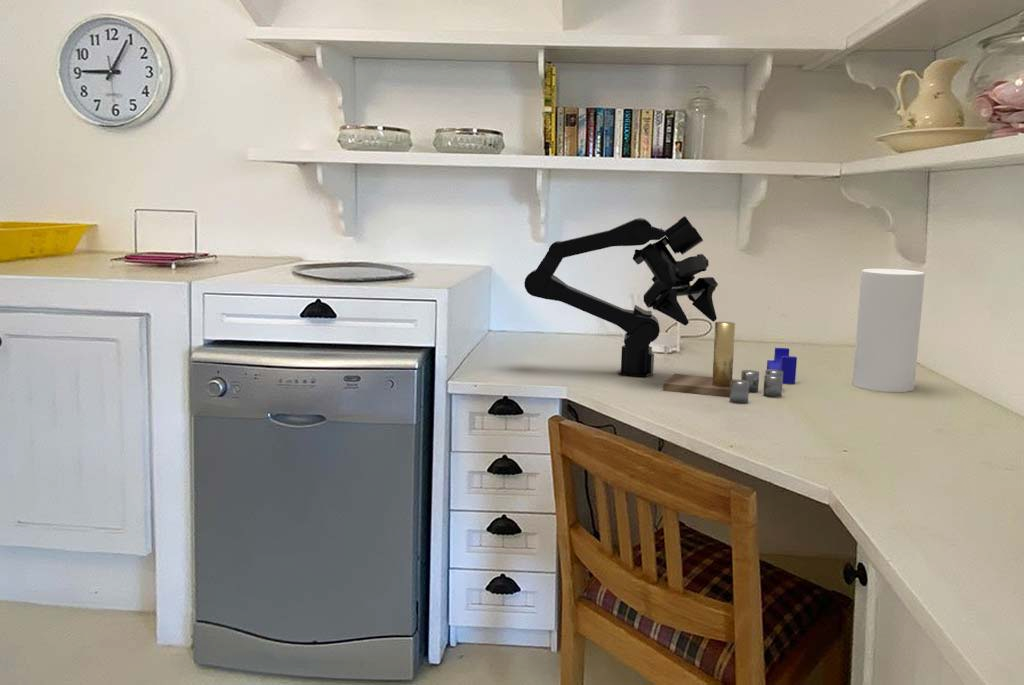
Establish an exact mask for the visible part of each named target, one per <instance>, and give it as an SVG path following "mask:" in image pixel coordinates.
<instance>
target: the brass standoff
mask: <svg viewBox="0 0 1024 685" xmlns="http://www.w3.org/2000/svg"><path fill="white" fill-rule="evenodd" d="M735 331H736V323H735V322H732V321H714V334H713V335H714V339H713V340H714V342H713V360H712V377H713V378H712V385H714V386H719V387H729V386H731V380H732V379H733V372H734V370H733V369H734V355H735V354H734V353H735V333H736V332H735Z"/></svg>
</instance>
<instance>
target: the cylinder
mask: <svg viewBox="0 0 1024 685" xmlns="http://www.w3.org/2000/svg"><path fill="white" fill-rule="evenodd" d="M925 276H926V275H925V272H923V271H918V270H913V269H912V270H911V269H910V270H909V269H901V268H900V269H899V268H898V269H894V268H865V269H862V270H861V276H860V285H859V287H860V288H859V300H858V301H859V302H858V310H857V311H858V313H857V323H856V324H857V325H856V336H855V346H854V347H855V350H854V359H853V360H854V362H853V372H852V385H853V386H855V387H857V388H859V389H863V390H868V391H873V392H874V391H875V392H881V393H882V392H883V393H907V392H908V391H909V392H912V391H914V390H915V385H916V384H915V383H916V373H917V372H916V371H917V361H918V350H919V342H920V341H919V339H920V331H921V330H920V328H921V320H922V318H921V317H922V307H923V300H924V299H923V298H924V287H925V278H926V277H925Z"/></svg>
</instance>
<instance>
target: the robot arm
mask: <svg viewBox="0 0 1024 685" xmlns="http://www.w3.org/2000/svg"><path fill="white" fill-rule="evenodd" d="M650 241H656V242H654V243H649V242H650ZM702 242H704V239H703V237H702V236H701V234H700V233H699V232H698V230H697V229H696V227H695V226H693V225H692V223H691V222H690V221H689V219H688V218H687V217H686V216H682V217H681V218H680V219H678V220H677V221H676V222H675V223H674V224H672V225H671V226H670V227H668V228H666V229H663V228H662V227H660V228H658V227H655V226H653V225H652V224H651V223H650V221H649V220H647V219H646V218H642V217H637V218H634V219H632V220H629V221H627V222H625V223H622V224H620V225H618V226H616V227H613V228H611V229H609V230H605V231H600V232H596V233H592V234H587V235H583V236H578V237H575V238H571V239H566V240H562V241H561V240H556V241H555V242H553V243H552V244H550V246H549V248H548V251H547V252H546V254H545V256H544V257H543V258H542V260H541V261H540V263H539V264H538V266H537V268H536V269H534V270H531V272H530V273H528V274H527V275H526V277H525V279H524V289H525V291H526V293H527V294H529V295H531V296H532V297H536V298H540V299H544V300H550V301H556V302H561V303H563V304H566V305H568V306H571V307H573V308H575V309H578V310H580V311H582V312H585V313H588V314H589V315H592V316H594V317H597V318H599V319H601V320H604V321H605V322H608V323H611V324H613V325H615V326H618V328H620V329H621V330H623V331H624V332H625V334H624V337H623V343H624V345H622V346H621V359H620V360H621V361H620V371H618V375H622V376H633V377H641V378H642V377H643V378H644V377H645V378H647V377H649V376H650V375H651V374H652V373H653V371H654V366H655V365H654V364H655V353H653V346H650V344H651V343H653V342H654V341H655V340H656V339H658V337H659V335H660V332H661V331H660V322H659V320H658V318H657V317H656V316H655V315H653V312H652V311H651V310H646V309H643V308H641V307H640V306H638V305H636V304H635V305H634V307H633V310H632V309H627V308H622V307H620V306H618V305H616V304H613V303H611V302H608V301H606V300H603V299H601V298H599V297H596V296H594V295H592V294H589V293H587V292H585V291H583V290H580V289H577V288H574V287H573V286H570V285H568V284H567V283H565V282H564V281H563V280H562V279H561V278H559V277H557V276H556V275H555V272H556V270H558V268H559V266H560V264H561V262H562V261H563V259H564V258H569V257H572V256H576V255H577V256H578V255H582V254H585V253H590V252H595V251H599V250H603V249H607V248H611V247H632V246H636V247H637V246H643V245H646V244H647V243H648V244H647V245H646V246H644V247H643V248H641V249H635V250H634V254H633V257H632V260H633V261H634V262H635V264H636V265H640V264H642V263H645V264H646V266H647V268H648V269H649V270H650V271H651V273H652V275H653V277H652V278H651V281H652V282H653V283H652V285H651V286H650V287H649V288H648V289H647V290H646V292H645V293H644V294H643V303H644V304H645V306H646V307H647V309H648V308H652V309H653V310H654V311H658V312H660V313H662V314H664V315H666V316H668V317H669V318H671V319H673V320H674V321H677V322H678V323H679V324H681V325H683V326H688V324H689V323H690V322H689V320H688V319H689V318H687V315H686V314H685V312H684V310H683V309H682V306H681V305H680V303H679V301H678V297H684V296H686V297H687V298H688V300H689V301H691V302H692V303H691V304H692V306H693V307H695V308H696V309H697V310H698V311H699V312H700V313H702V314H703V315H704V316H705V317H706V318H708V319H709V320H710V321H712V322H714V323H715V322H716V321H717V318H718V317H717V313H716V310H715V309H716V308H715V305H714V302H713V301H714V300H713V293H714V292H715V291H716V288H717V287H718V284H719V283H718V282H717V281H716V279H715V278H714V277H710V276H706V277H698V278H697V280H696V281H695V282H694V283H693V284H692V285H691V282H692V281H694V280H695V278H696V277H695V275H697V274H699V273H702V272H706V271H707V268H708V267H709V264H710V263H709V259H708V258H707V257H706V256H705V255H704V254H703V253H699V254H696V255H695V256H689V257H685V258H684V259H682V260H677V259H675V257H674V256H673V254H675V255H677V254H679V253H680V254H681V255H682V256H684V254H686V253H687V252H689V251H690V250H691V249H693V248H695V247H696V246H698V245H699V244H701V243H702ZM667 245H669V247H670V249H671V250H672V251H673V254H672V253H671V251H670V250H669V249H668V247H667Z"/></svg>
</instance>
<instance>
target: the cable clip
mask: <svg viewBox="0 0 1024 685" xmlns="http://www.w3.org/2000/svg"><path fill="white" fill-rule="evenodd" d="M773 356H774V357H773V360H772V359H771V360H769V359H767V360H766V361H767V363H766V370H767V369H777V370H782V371H783V384H785V385H786V384H787V385H795V384H796V376H797V363H798V362H797V361H798V357H797V356H792V355H791V356H790V349H789V348H788V347H774V355H773ZM783 384H782V385H783Z"/></svg>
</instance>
